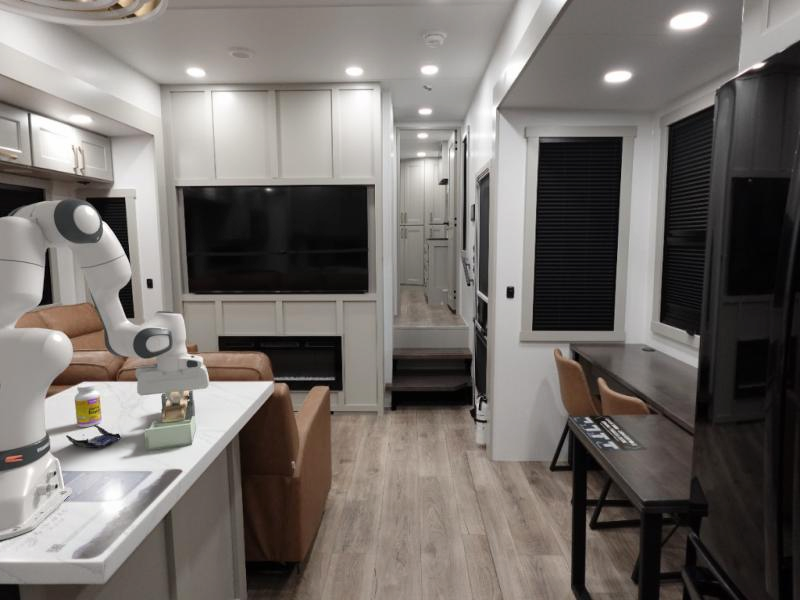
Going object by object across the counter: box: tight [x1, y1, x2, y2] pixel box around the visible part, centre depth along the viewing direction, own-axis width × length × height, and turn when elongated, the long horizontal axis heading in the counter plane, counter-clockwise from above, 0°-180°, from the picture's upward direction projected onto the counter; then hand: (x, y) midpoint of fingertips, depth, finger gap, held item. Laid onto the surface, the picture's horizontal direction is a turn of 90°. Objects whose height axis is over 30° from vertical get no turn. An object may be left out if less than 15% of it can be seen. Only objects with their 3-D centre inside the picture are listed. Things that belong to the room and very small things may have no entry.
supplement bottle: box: [74, 382, 103, 428], centre depth 148 cm, size 7×7×13 cm
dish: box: [143, 415, 197, 452], centre depth 135 cm, size 13×12×6 cm
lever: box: [161, 390, 190, 422], centre depth 150 cm, size 24×7×5 cm, turn 19°
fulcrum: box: [161, 390, 196, 423], centre depth 150 cm, size 6×9×9 cm, turn 109°
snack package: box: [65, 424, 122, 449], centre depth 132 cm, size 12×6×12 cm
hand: (175, 405), depth 145 cm, fingers closed, pressing on lever
